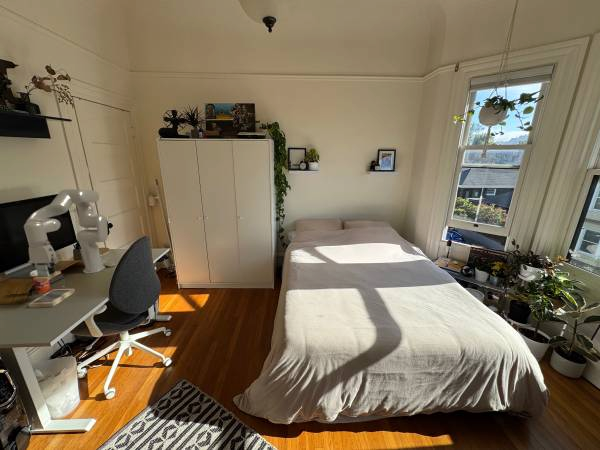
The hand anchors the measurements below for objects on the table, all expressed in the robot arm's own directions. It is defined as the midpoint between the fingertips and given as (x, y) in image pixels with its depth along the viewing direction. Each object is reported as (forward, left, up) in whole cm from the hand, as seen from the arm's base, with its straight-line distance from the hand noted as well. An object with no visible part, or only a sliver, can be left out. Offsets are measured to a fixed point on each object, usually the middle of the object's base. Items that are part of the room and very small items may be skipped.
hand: (46, 272), depth 139 cm
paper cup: (-10, -13, -17) cm, 24 cm away
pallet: (0, 0, -3) cm, 3 cm away
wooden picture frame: (0, 0, -17) cm, 17 cm away
